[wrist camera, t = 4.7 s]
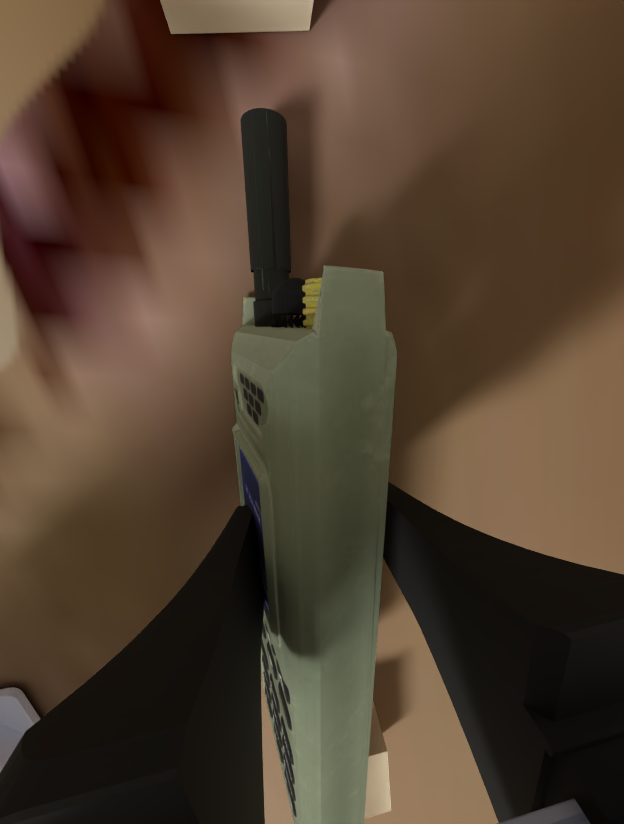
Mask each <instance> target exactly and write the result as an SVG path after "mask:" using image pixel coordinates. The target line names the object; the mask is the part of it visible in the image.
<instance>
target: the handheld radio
mask: <svg viewBox="0 0 624 824" xmlns="http://www.w3.org/2000/svg"><path fill="white" fill-rule="evenodd" d="M241 133H242V147H243V162H244V176H245V191H246V205H247V220H248V234H249V248H250V263H251V272H253V273H254V286H255V297H243V325H242V327H240V328H239V329H238V330H237V331H236V332H235V335H234V338H233V342H232V349H231V365H232V374H233V387H234V398H235V409H236V419H237V423H236V424H235V426H234V427H233V428H232V431H233V435H234V445H235V455H236V465H237V475H238V484H239V494H240V504H241V506H244V505H248V506H249V508H250V509H251V511H252V513H253V519H254V525H255V532H256V539H257V547H258V554H259V561H260V568H261V575H262V583H263V590H264V597H265V600H264V614H263V629H262V643H261V668H262V677H263V687H264V695H265V699H266V703H267V708H268V712H269V716H270V721H271V725H272V729H273V734H274V738H275V742H276V747H277V751H278V755H279V759H280V764H281V768H282V772H283V777H284V781H285V785H286V790H287V794H288V798H289V803H290V807H291V811H292V816H293V820H294V824H364V815H365V801H366V787H367V773H368V759H369V745H370V731H371V717H372V703H373V689H374V675H375V661H376V647H377V633H378V619H379V605H380V591H381V577H382V563H383V549H384V535H385V521H386V507H387V493H388V479H389V465H390V451H391V437H392V423H393V409H394V395H395V381H396V367H397V350H396V345H395V341H394V338H393V335H392V332H390V331H386V321H385V292H384V275H383V271H377V270H370V269H360V268H351V267H341V266H327V265H324V268H323V275H322V278H311V279H307V280H306V281H305V280H302V279H299V278H290V279H289V273H290V272H291V255H290V222H289V189H288V156H287V124H286V120H285V119H284V117H283V116H282V115H281V114H279V113H278V112H276V111H273V110H270V109H265V108H256V109H251V110H249V111H247V112H245V113H244V114H243V115H242V117H241ZM293 315H298V316H296V317H295V318H294V320H293ZM299 315H302V316H301V318H300V319H299ZM303 315H304V316H303ZM293 323H294V325H295V326H296V327H293ZM300 325H301V327H300Z"/></svg>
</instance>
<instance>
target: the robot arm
mask: <svg viewBox="0 0 624 824" xmlns="http://www.w3.org/2000/svg"><path fill="white" fill-rule="evenodd" d="M383 558H384V560H385V562H386V564H387V565H388V567H389V569H390V571H391V573H392V575H393V577H394V578H395V580H396V582H397V584H398V586H399V588H400V589H401V591H402V593H403V595H404V597H405V599H406V600H407V602H408V604H409V606H410V608H411V610H412V611H413V614H414V616H415V618H416V620H417V622H418V624H419V626H420V628H421V630H422V632H423V635H424V637H425V639H426V642H427V644H428V646H429V649H430V651H431V653H432V655H433V658H434V660H435V662H436V665H437V667H438V670H439V672H440V674H441V677H442V679H443V682H444V684H445V686H446V689H447V691H448V694H449V696H450V698H451V701H452V703H453V706H454V708H455V711H456V713H457V716H458V718H459V721H460V723H461V726H462V728H463V731H464V733H465V736H466V738H467V741H468V743H469V746H470V748H471V751H472V753H473V756H474V759H475V761H476V764H477V767H478V769H479V772H480V774H481V777H482V780H483V782H484V785H485V787H486V790H487V793H488V795H489V798H490V800H491V803H492V806H493V808H494V811H495V814H496V816H497V819H498V822H499V823H498V824H624V575H623V574H619V573H614V572H610V571H606V570H601V569H597V568H593V567H588V566H584V565H580V564H576V563H572V562H569V561H565V560H562V559H558V558H554V557H551V556H547V555H544V554H541V553H538V552H534V551H531V550H528V549H525V548H522V547H519V546H517V545H514V544H511V543H508V542H505V541H502V540H500V539H497V538H495V537H492V536H489V535H487V534H485V533H482V532H480V531H478V530H475V529H473V528H471V527H468V526H466V525H464V524H462V523H460V522H458V521H455V520H453V519H452V518H450V517H448V516H446V515H444V514H442V513H440V512H438V511H436V510H434V509H433V508H431V507H429V506H427V505H425V504H424V503H422V502H420V501H419V500H417V499H415V498H414V497H412V496H410V495H409V494H407V493H405V492H404V491H402V490H401V489H399V488H397V487H396V486H394V485H393V484H391V483H389V482H388V493H387V507H386V521H385V535H384V549H383ZM264 600H265V597H264V590H263V583H262V575H261V568H260V561H259V554H258V547H257V539H256V532H255V525H254V519H253V513H252V511H251V509H250V508H249V506H248V505H244V506H238V507H237V508H236V510H235V511H234V513H233V515H232V516H231V518H230V520H229V522H228V523H227V525H226V527H225V528H224V530H223V531H222V533H221V535H220V536H219V538H218V539H217V541H216V542H215V544H214V545H213V547H212V548H211V550H210V551H209V553H208V554H207V556H206V557H205V558H204V560H203V561H202V563H201V564H200V565H199V567H198V568H197V569H196V571H195V572H194V574H193V575H192V576H191V577H190V579H189V580H188V581H187V582H186V584H185V585H184V586H183V587H182V589H181V590H180V591H179V592H178V593H177V594H176V596H175V597H174V598H173V599H172V600H171V601H170V602H169V604H168V605H167V606H166V607H165V608H164V609H163V610H162V611H161V612H160V613H159V614H158V615H157V616H156V617H155V618H154V619H153V620H152V621H151V622H150V623H149V624H148V625H147V626H146V627H145V628H144V629H143V630H142V631H141V633H140V634H139V635H138V636H137V637H135V638H134V639H133V640H132V641H131V642H130V643H129V644H128V645H127V646H126V647H125V648H124V649H123V650H122V651H121V652H120V653H118V654H117V655H116V656H115V657H114V658H113V659H112V660H111V661H110V662H108V663H107V664H106V665H105V666H104V667H103V668H102V669H101V670H99V671H98V672H97V673H96V674H95V675H94V676H93V677H91V678H90V679H89V680H88V681H87V682H86V683H84V684H83V685H82V686H81V687H80V688H78V689H77V690H76V691H75V692H73V693H72V694H71V695H70V696H69V697H67V698H66V699H65V700H64V701H62V702H61V703H60V704H59V705H58V706H56V707H55V708H54V709H53V710H51V711H50V712H49V713H48V714H46V715H45V716H44V717H43V718H42V719H40V717H39V716H38V714H37V713H36V711H35V710H34V708H33V707H32V705H31V704H30V702H29V701H28V699H27V698H26V696H25V695H24V693H23V692H22V691H21V690H20V689H18V688H14V687H10V688H5V689H1V690H0V824H265V819H264V789H263V758H262V717H261V643H262V629H263V614H264Z"/></svg>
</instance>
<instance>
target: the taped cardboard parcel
mask: <svg viewBox="0 0 624 824" xmlns="http://www.w3.org/2000/svg"><path fill="white" fill-rule="evenodd" d="M160 1H161V4H162V7H163V10H164V13H165V16H166V19H167V23H168V26H169V29H170V32H171V34H190V33H232V32H274V31H309V29H310V22H311V15H312V9H313V2H314V0H160ZM388 811H391V800H390V785H389V770H388V755H387V749H386V745H385V741H384V738H383V734H382V731H381V727H380V724H379V720H378V717H377V713H376V709H375V706H374V702H373V703H372V717H371V731H370V745H369V759H368V773H367V787H366V801H365V815H364V819H366V818H369V817H372V816H375V815H379V814H382V813H385V812H388Z"/></svg>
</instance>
